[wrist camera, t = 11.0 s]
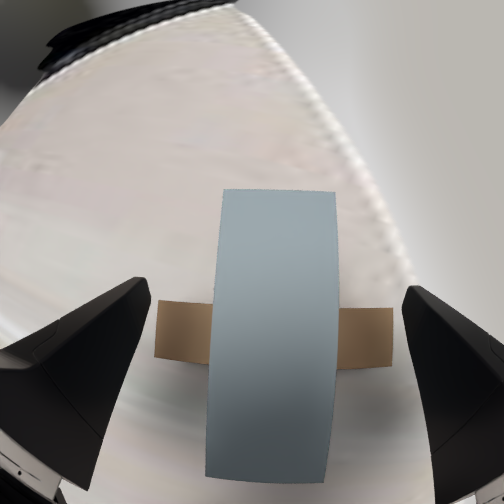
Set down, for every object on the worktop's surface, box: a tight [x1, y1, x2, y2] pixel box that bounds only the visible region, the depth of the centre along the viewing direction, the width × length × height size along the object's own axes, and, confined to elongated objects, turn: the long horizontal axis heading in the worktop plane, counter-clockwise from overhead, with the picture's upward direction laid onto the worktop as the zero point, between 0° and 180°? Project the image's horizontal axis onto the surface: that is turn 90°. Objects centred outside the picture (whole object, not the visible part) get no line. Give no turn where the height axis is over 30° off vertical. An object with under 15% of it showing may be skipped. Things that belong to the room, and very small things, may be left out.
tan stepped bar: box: [154, 300, 393, 369], centre depth 15 cm, size 12×3×4 cm, turn 87°
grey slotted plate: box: [205, 189, 339, 483], centre depth 12 cm, size 9×4×10 cm, turn 177°
